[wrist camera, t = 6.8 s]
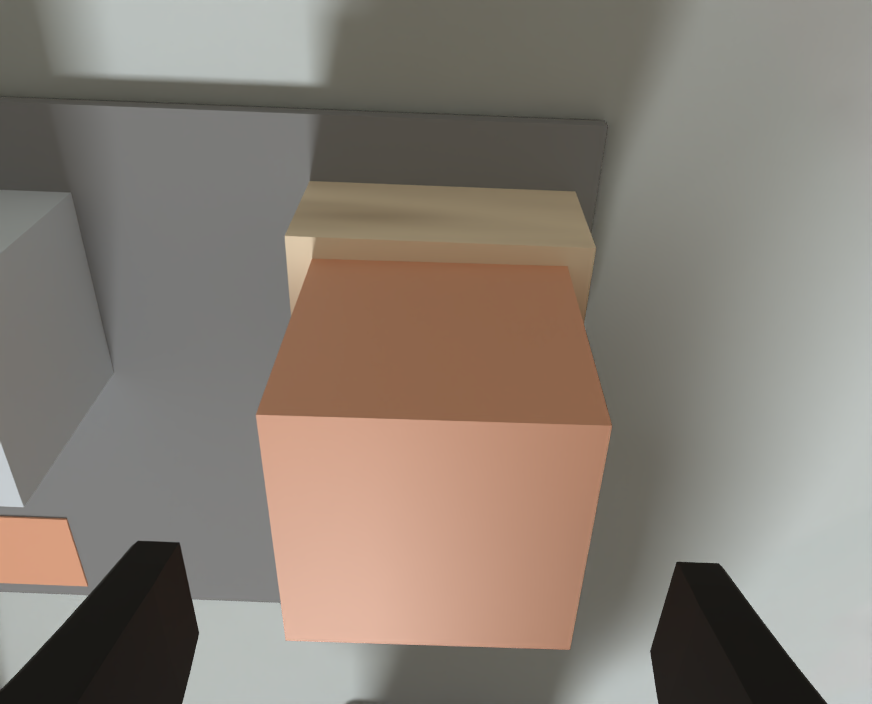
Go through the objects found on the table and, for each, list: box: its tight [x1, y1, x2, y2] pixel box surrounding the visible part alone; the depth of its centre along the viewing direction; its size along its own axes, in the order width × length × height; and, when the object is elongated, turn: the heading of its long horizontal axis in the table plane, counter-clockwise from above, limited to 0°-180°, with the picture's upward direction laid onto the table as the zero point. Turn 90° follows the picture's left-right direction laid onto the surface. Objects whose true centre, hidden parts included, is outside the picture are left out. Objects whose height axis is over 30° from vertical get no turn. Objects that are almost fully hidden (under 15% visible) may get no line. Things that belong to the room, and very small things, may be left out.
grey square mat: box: [0, 97, 608, 603], centre depth 21 cm, size 16×18×1 cm
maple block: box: [285, 181, 596, 323], centre depth 18 cm, size 6×6×3 cm
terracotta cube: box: [256, 259, 612, 650], centre depth 14 cm, size 5×5×5 cm
